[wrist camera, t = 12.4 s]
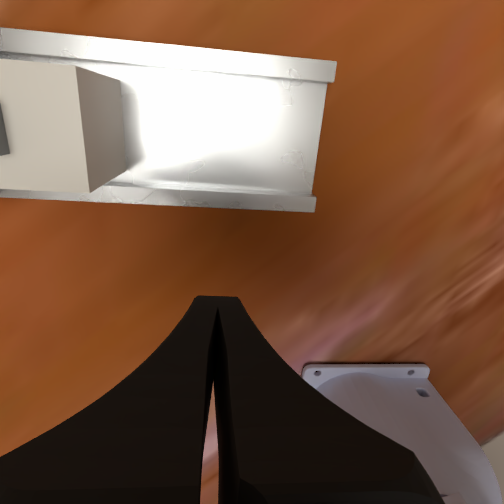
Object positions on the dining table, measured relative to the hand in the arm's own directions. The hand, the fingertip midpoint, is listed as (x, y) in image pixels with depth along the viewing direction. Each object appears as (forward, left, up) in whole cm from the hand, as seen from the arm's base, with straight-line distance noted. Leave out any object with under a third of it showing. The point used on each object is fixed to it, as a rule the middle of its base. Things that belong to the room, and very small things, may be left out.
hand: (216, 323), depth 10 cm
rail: (+4, -5, -10) cm, 11 cm away
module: (+8, -5, -8) cm, 12 cm away
